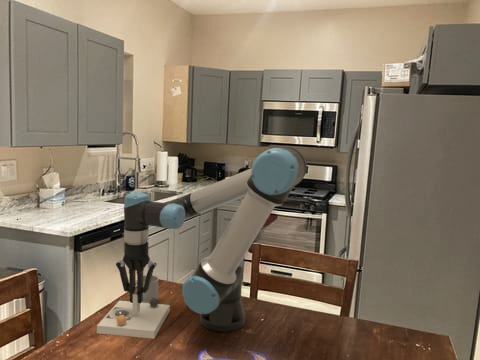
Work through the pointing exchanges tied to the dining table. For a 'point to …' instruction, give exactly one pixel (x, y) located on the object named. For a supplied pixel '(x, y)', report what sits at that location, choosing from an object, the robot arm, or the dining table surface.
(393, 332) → the dining table surface
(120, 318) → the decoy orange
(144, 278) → the cup
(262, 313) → the dining table surface
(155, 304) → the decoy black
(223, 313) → the robot arm
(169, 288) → the dining table surface
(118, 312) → the ball
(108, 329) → the board
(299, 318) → the dining table surface
